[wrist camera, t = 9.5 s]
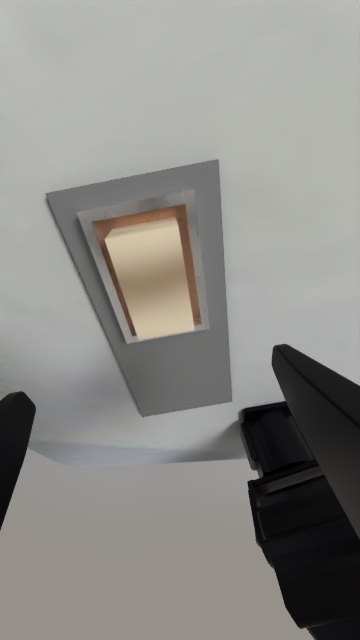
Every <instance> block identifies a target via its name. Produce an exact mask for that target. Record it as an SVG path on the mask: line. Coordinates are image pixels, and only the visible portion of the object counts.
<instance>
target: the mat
mask: <svg viewBox="0 0 360 640" xmlns="http://www.w3.org/2000/svg"><path fill="white" fill-rule="evenodd" d="M191 188H192V189H194V190H195V199H196V208H197V217H198V226H199V235H200V244H201V253H202V262H203V271H204V280H205V289H206V298H207V307H208V316H209V325H210V329H206V330H201V331H195V332H190V333H184V334H179V335H173V336H168V337H162V338H156V339H151V340H145V341H140V342H134V343H129V344H127V343H126V340H125V337H124V335H123V332H122V330H121V327H120V324H119V322H118V319H117V317H116V314H115V311H114V309H113V306H112V304H111V301H110V298H109V296H108V293H107V291H106V288H105V285H104V283H103V280H102V278H101V275H100V272H99V270H98V267H97V265H96V262H95V259H94V257H93V254H92V252H91V249H90V246H89V244H88V241H87V239H86V236H85V233H84V231H83V228H82V226H81V223H80V220H79V218H78V215H77V212H79V211H81V210H84V209H89V208H94V207H99V206H105V205H110V204H115V203H120V202H125V201H130V200H135V199H140V198H145V197H151V196H156V195H161V194H166V193H171V192H176V191H181V190H186V189H191ZM46 197H47V199H48V201H49V203H50V206H51V208H52V210H53V213H54V215H55V217H56V220H57V222H58V224H59V226H60V229H61V231H62V233H63V236H64V238H65V240H66V242H67V245H68V247H69V249H70V252H71V254H72V256H73V258H74V261H75V263H76V265H77V268H78V270H79V272H80V274H81V277H82V279H83V281H84V284H85V286H86V288H87V291H88V293H89V295H90V297H91V300H92V302H93V304H94V307H95V309H96V311H97V313H98V316H99V318H100V320H101V323H102V325H103V327H104V329H105V332H106V334H107V336H108V339H109V341H110V343H111V346H112V348H113V350H114V352H115V355H116V357H117V359H118V362H119V364H120V366H121V368H122V371H123V373H124V375H125V378H126V380H127V382H128V384H129V387H130V389H131V391H132V394H133V396H134V398H135V401H136V403H137V405H138V407H139V410H140V412H141V414H142V417H146V416H151V415H157V414H163V413H169V412H174V411H180V410H186V409H192V408H198V407H203V406H209V405H215V404H221V403H226V402H232V391H231V373H230V356H229V338H228V320H227V302H226V284H225V267H224V249H223V231H222V213H221V195H220V177H219V160H212V161H207V162H202V163H197V164H192V165H187V166H182V167H177V168H172V169H167V170H162V171H157V172H152V173H147V174H142V175H136V176H131V177H126V178H121V179H116V180H111V181H106V182H101V183H96V184H91V185H86V186H81V187H76V188H71V189H66V190H61V191H56V192H51V193H46Z"/></svg>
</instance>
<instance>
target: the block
mask: <svg viewBox="0 0 360 640" xmlns="http://www.w3.org/2000/svg"><path fill="white" fill-rule="evenodd" d="M104 240H105V243H106V246H107V248H108V251H109V254H110V257H111V260H112V263H113V266H114V269H115V272H116V275H117V278H118V281H119V284H120V287H121V290H122V292H123V295H124V298H125V301H126V304H127V307H128V310H129V313H130V316H131V319H132V322H133V325H134V328H135V331H136V334H137V337H138V339H139V340H142V339H148V338H153V337H159V336H165V335H170V334H176V333H181V332H187V331H192V330H195V329H194V322H193V316H192V309H191V303H190V297H189V290H188V284H187V278H186V271H185V265H184V259H183V252H182V246H181V240H180V233H179V227H178V223H177V221H176V218H175V217H173V218H168V219H163V220H158V221H152V222H147V223H142V224H137V225H131V226H126V227H121V228H116V229H112V230H111V231H110V233H109V234H108V235H107V237H106V238H105V239H104Z"/></svg>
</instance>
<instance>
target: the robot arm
mask: <svg viewBox="0 0 360 640" xmlns="http://www.w3.org/2000/svg"><path fill="white" fill-rule="evenodd" d="M272 368H273V370H274V373H275V375H276V378H277V380H278V383H279V385H280V388H281V390H282V393H283V395H284V397H285V400H286V402H283V403H277V404H271V405H266V406H260V407H254V408H248V409H245V410H243V423H241V425H240V426H241V438H242V441H243V444H244V448H245V451H246V454H247V457H248V460H249V464H250V467H251V469H252V470H257V472H258V475H259V479H256V480H250V481H248V488H249V490H248V492H249V499H250V505H251V510H252V516H253V522H254V527H255V537H256V542H257V544H258V546H259V547H261V548H262V550H263V553H264V555H265V557H266V559H267V561H268V563H269V564H270V566H271V567H272V568H274V570H275V573H276V576H277V579H278V582H279V586H280V589H281V593H282V596H283V600H284V604H285V607H286V609H287V611H288V612H289V614H290V615H291V617H292V618H293V620H294V621H295V623H296V624H297V626H298V627H299V628H300V629H303V628H306V629H307V630H308V631H309V633H310V634H311V635H312V636H313V638H314V639H315V640H360V386H359V385H357V384H356V383H354V382H352V381H350V380H349V379H347V378H345V377H343V376H342V375H340V374H338V373H336V372H335V371H333V370H331V369H329V368H328V367H326V366H324V365H322V364H321V363H319V362H317V361H315V360H314V359H312V358H310V357H308V356H307V355H305V354H303V353H301V352H300V351H298V350H296V349H294V348H293V347H291V346H289V345H287V344H281V345H275V346H274V347H273V353H272ZM35 412H36V407H35V404H34V403H33V402H32V401H31V400H30V398H29V397H28V396H27V395H26V394H25V393H24V392H21V391H20V392H14V393H10V394H8V395H7V396H6V397H4V398H3V399H2V400H1V401H0V530H1V527H2V524H3V521H4V518H5V515H6V512H7V509H8V506H9V503H10V500H11V497H12V494H13V491H14V488H15V485H16V482H17V479H18V476H19V473H20V470H21V467H22V464H23V461H24V457H25V454H26V450H27V447H28V442H29V438H30V434H31V429H32V425H33V421H34V416H35Z"/></svg>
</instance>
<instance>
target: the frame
mask: <svg viewBox="0 0 360 640" xmlns="http://www.w3.org/2000/svg"><path fill="white" fill-rule="evenodd" d="M77 215H78V218H79V220H80V223H81V226H82V228H83V231H84V233H85V236H86V239H87V241H88V244H89V246H90V249H91V252H92V254H93V257H94V259H95V262H96V265H97V267H98V270H99V272H100V275H101V278H102V280H103V283H104V285H105V288H106V291H107V293H108V296H109V298H110V301H111V304H112V306H113V309H114V311H115V314H116V317H117V319H118V322H119V324H120V327H121V330H122V332H123V335H124V337H125V340H126V343H127V344H129V343H134V342H140V341H145V340H151V339H156V338H162V337H168V336H173V335H179V334H184V333H190V332H195V331H201V330H206V329H210V325H209V316H208V307H207V298H206V289H205V280H204V271H203V262H202V253H201V244H200V235H199V226H198V217H197V208H196V199H195V190H194V189H192V188H191V189H186V190H181V191H176V192H171V193H166V194H161V195H156V196H151V197H145V198H140V199H135V200H130V201H125V202H120V203H115V204H110V205H105V206H99V207H94V208H89V209H84V210H81V211H79V212H77ZM173 217H175V218H176V221H177V223H178V227H179V233H180V240H181V246H182V252H183V259H184V265H185V271H186V278H187V284H188V290H189V297H190V303H191V309H192V316H193V322H194V329H195V330H192V331H187V332H181V333H176V334H170V335H165V336H159V337H153V338H148V339H142V340H139V339H138V337H137V334H136V331H135V328H134V325H133V322H132V319H131V316H130V313H129V310H128V307H127V304H126V301H125V298H124V295H123V292H122V290H121V287H120V284H119V281H118V278H117V275H116V272H115V269H114V266H113V263H112V260H111V257H110V254H109V251H108V248H107V246H106V243H105V240H104V239H105V238H106V237H107V235H108V234H109V233H110V231H111V230H112V229H116V228H121V227H126V226H131V225H137V224H142V223H147V222H152V221H158V220H163V219H168V218H173Z"/></svg>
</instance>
